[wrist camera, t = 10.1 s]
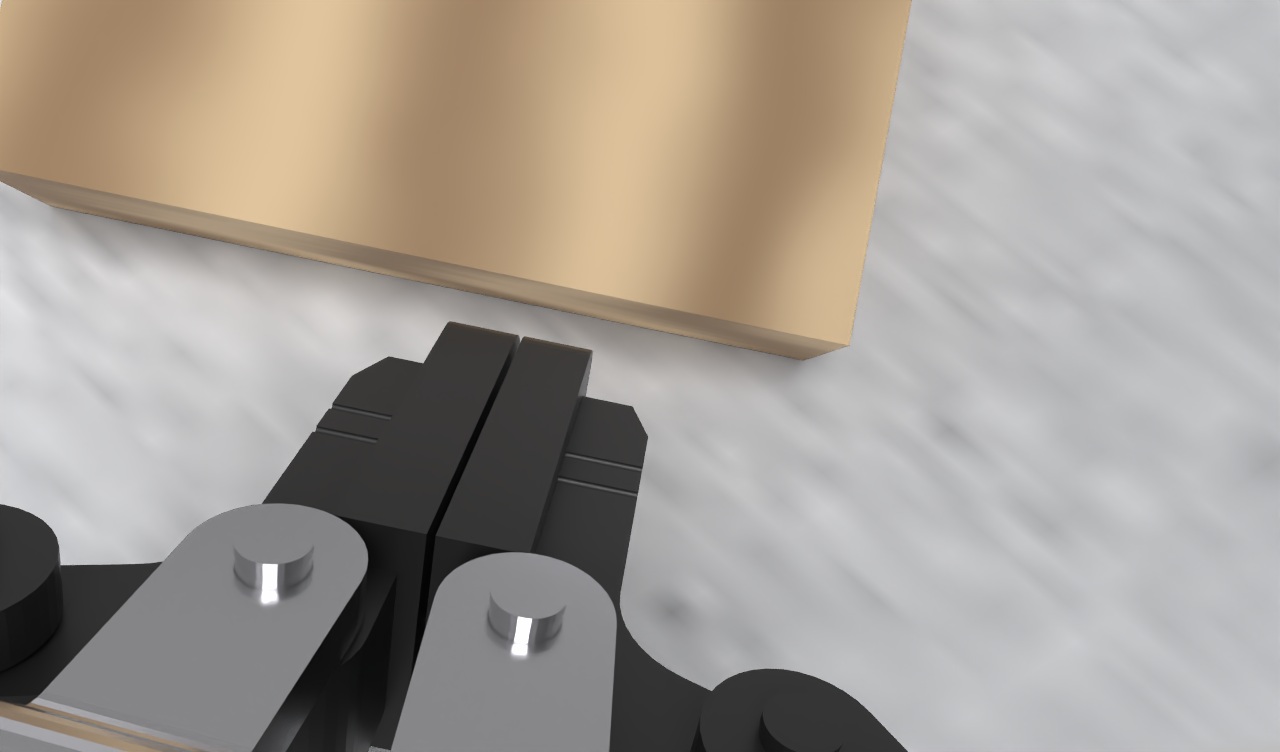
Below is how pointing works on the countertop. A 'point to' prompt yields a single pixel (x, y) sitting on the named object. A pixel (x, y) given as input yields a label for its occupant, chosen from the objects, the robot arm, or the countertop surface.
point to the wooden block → (485, 143)
